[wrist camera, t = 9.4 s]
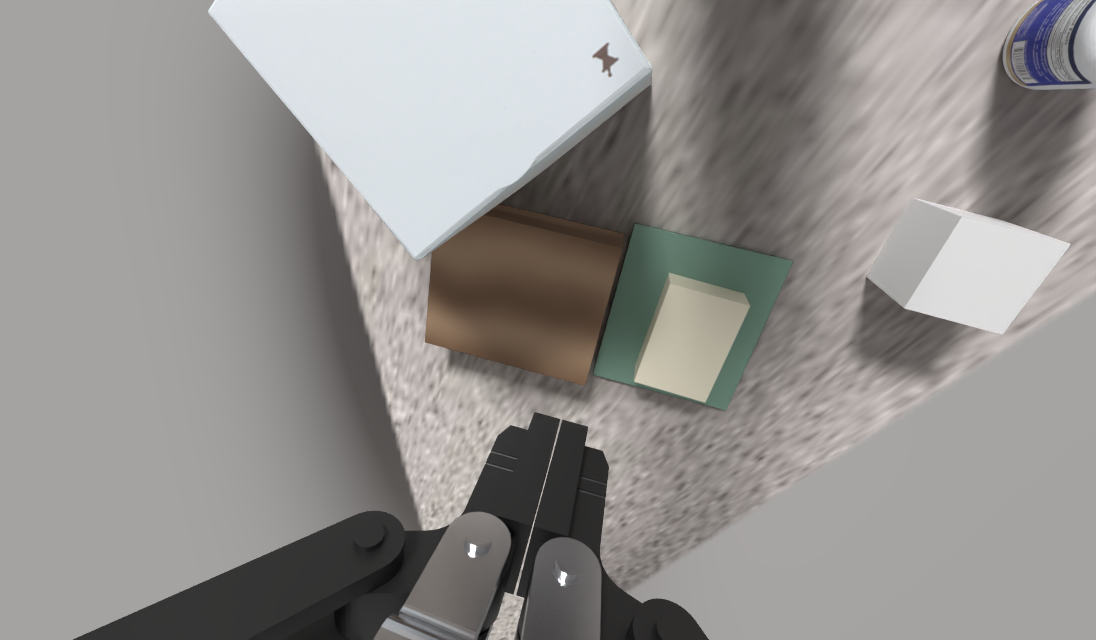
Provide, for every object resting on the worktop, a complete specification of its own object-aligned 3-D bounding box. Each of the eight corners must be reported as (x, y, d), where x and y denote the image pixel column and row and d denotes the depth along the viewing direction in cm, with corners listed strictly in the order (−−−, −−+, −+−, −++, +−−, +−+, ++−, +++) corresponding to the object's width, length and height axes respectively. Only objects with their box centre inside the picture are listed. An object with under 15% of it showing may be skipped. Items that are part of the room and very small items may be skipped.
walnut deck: (455, 193, 38) (436, 203, 35) (625, 233, 37) (622, 248, 34) (443, 322, 44) (424, 342, 40) (590, 361, 43) (584, 385, 39)
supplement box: (539, -105, 29) (415, -330, 14) (656, 83, 32) (661, 70, 17) (399, 49, 35) (196, 10, 19) (511, 197, 38) (414, 268, 22)
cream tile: (750, 306, 35) (744, 293, 37) (670, 283, 35) (669, 272, 37) (705, 402, 39) (702, 386, 41) (633, 381, 39) (634, 366, 41)
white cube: (910, 196, 32) (961, 216, 27) (1000, 219, 32) (1071, 243, 27) (865, 276, 35) (904, 308, 30) (948, 298, 35) (1002, 335, 29)
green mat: (634, 223, 37) (634, 224, 36) (791, 260, 36) (793, 262, 35) (593, 372, 43) (592, 374, 43) (725, 407, 42) (726, 410, 41)
